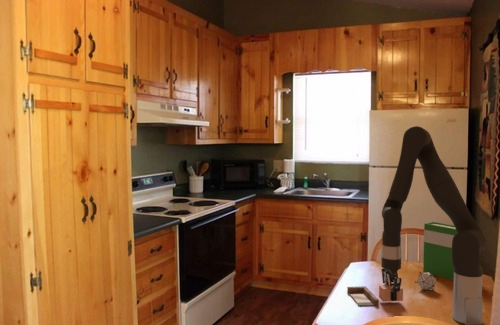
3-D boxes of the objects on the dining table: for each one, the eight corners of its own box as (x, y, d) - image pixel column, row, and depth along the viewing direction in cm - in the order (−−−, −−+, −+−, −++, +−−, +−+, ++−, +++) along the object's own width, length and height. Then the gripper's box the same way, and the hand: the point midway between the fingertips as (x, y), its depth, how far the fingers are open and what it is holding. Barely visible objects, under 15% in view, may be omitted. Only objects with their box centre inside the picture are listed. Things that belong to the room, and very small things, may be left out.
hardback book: (466, 278, 200) (468, 227, 198) (458, 281, 195) (460, 230, 194) (431, 269, 214) (432, 221, 212) (423, 271, 210) (424, 223, 208)
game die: (430, 299, 184) (441, 286, 178) (411, 291, 186) (421, 277, 179) (431, 283, 191) (441, 270, 185) (412, 276, 192) (422, 262, 186)
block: (403, 300, 169) (403, 288, 169) (383, 301, 169) (383, 289, 169) (398, 296, 174) (398, 284, 173) (379, 297, 173) (379, 285, 173)
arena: (378, 305, 169) (378, 299, 168) (358, 306, 168) (358, 300, 168) (365, 291, 183) (365, 286, 183) (347, 292, 183) (347, 286, 183)
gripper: (408, 260, 164) (408, 304, 165) (392, 251, 178) (392, 291, 179) (389, 261, 163) (389, 305, 164) (375, 251, 177) (375, 292, 178)
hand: (390, 297), depth 171 cm, fingers closed on block, 4 cm apart
